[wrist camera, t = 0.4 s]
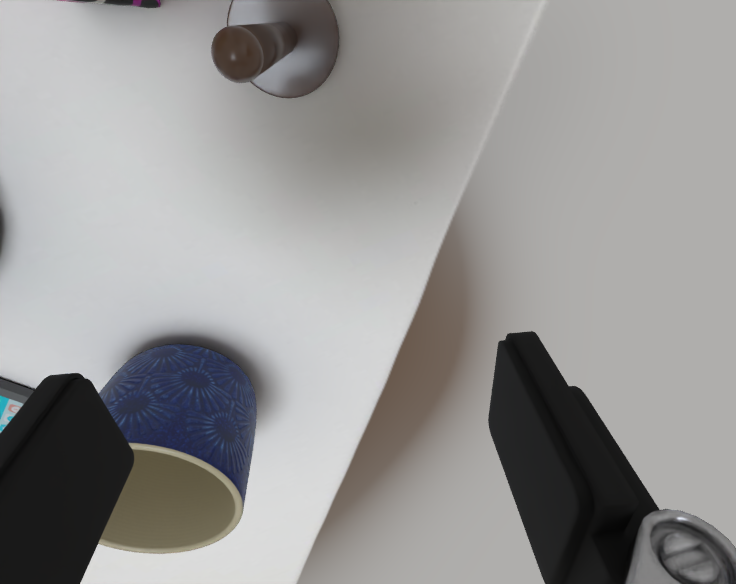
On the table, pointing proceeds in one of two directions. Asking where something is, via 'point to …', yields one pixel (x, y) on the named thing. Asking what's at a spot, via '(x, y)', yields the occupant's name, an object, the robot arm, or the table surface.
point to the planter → (180, 448)
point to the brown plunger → (278, 45)
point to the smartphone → (11, 400)
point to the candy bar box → (123, 2)
